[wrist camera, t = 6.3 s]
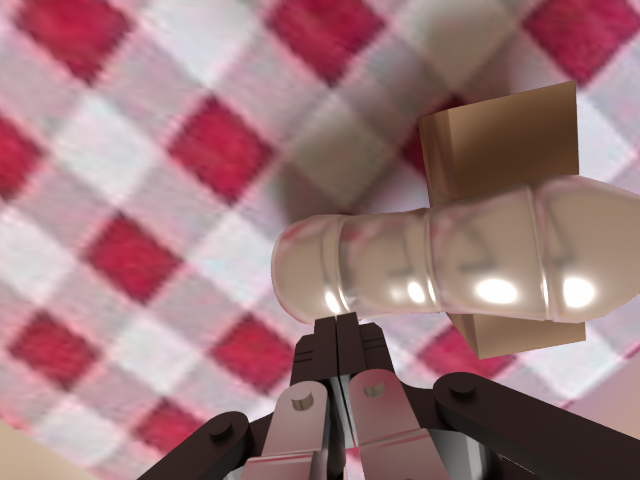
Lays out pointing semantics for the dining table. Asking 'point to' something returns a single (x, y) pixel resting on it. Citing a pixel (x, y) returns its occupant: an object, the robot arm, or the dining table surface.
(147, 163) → the dining table surface
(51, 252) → the dining table surface
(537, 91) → the u rest
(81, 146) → the dining table surface
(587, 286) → the silver metal bottle
